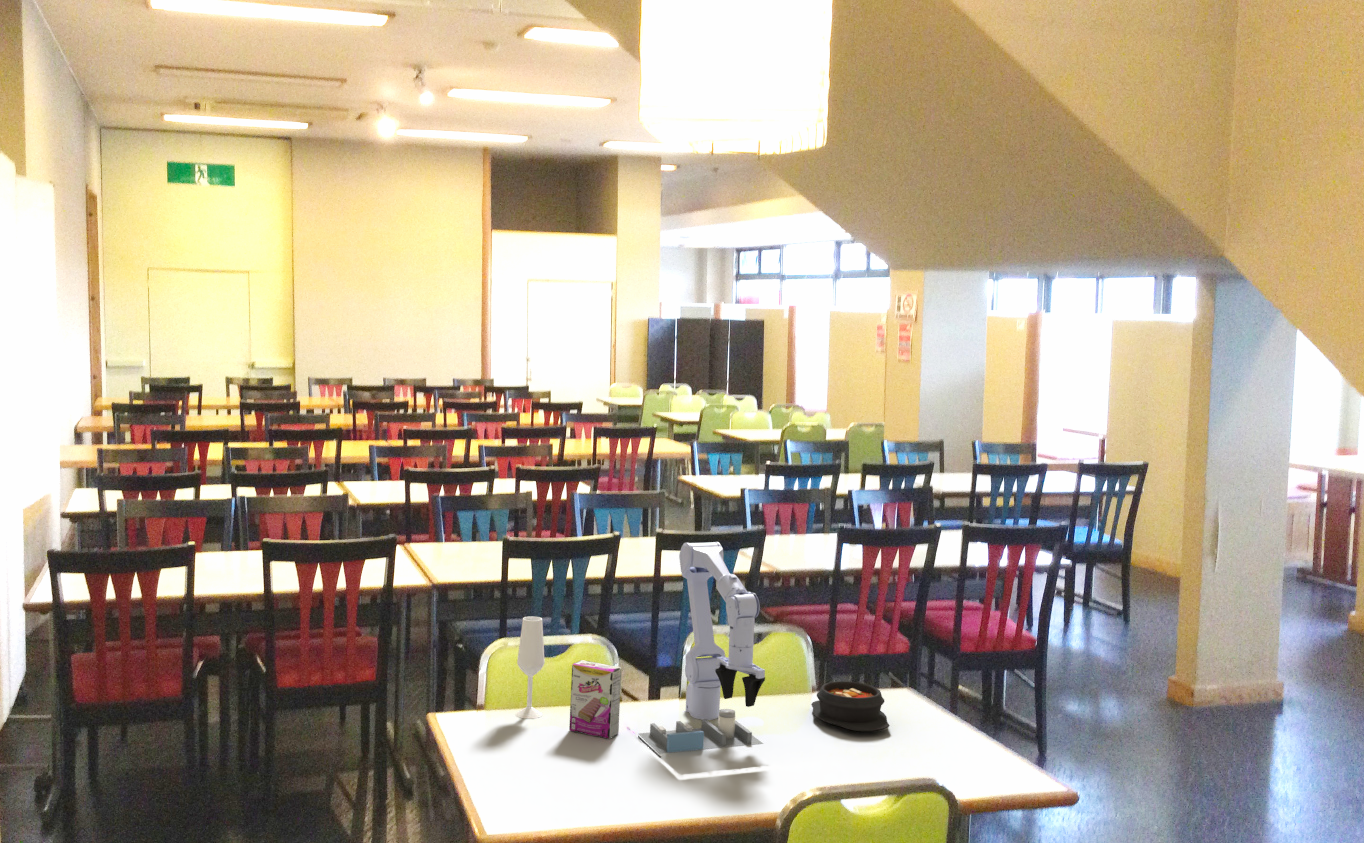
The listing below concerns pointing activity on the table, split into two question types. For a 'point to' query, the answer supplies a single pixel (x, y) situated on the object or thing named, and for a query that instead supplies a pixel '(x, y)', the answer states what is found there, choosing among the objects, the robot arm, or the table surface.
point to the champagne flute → (531, 659)
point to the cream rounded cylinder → (727, 722)
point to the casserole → (851, 706)
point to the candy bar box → (595, 699)
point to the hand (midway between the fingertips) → (738, 702)
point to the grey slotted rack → (695, 738)
